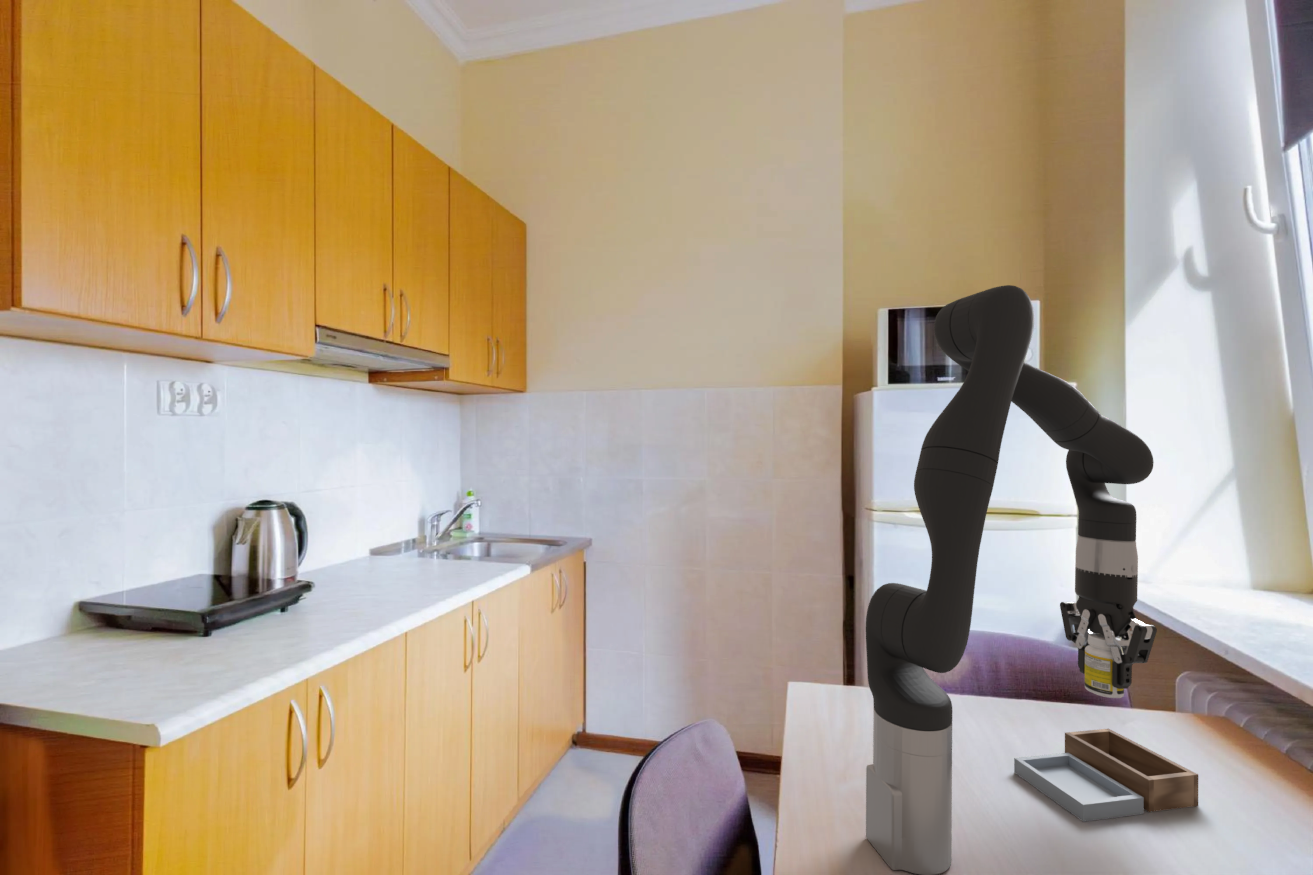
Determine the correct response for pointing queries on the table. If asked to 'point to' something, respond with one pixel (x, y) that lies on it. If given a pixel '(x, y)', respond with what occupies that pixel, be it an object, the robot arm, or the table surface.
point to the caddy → (1136, 768)
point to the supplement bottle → (1100, 667)
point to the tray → (1078, 786)
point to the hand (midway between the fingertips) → (1103, 679)
